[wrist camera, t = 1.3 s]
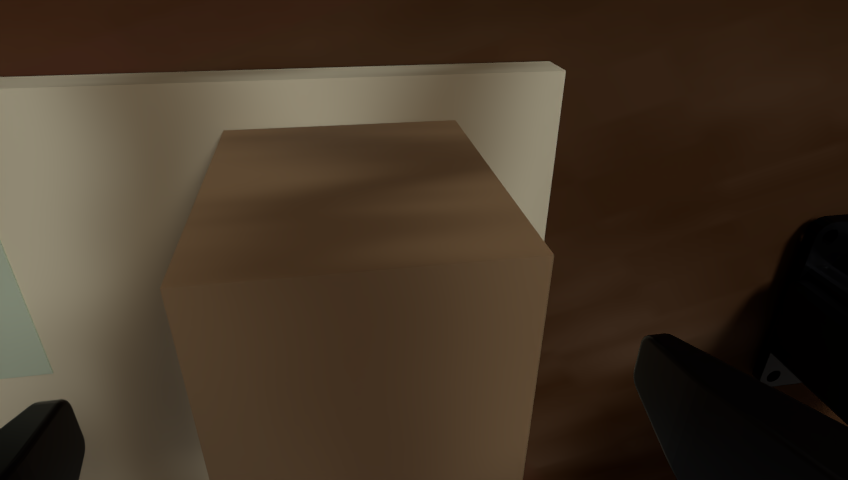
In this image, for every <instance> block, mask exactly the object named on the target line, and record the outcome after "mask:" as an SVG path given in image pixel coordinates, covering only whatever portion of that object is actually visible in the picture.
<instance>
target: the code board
mask: <svg viewBox="0 0 848 480" xmlns="http://www.w3.org/2000/svg"><path fill="white" fill-rule="evenodd" d="M565 73H566V71H565V70H564V69H562V68H560V67H558V66H557V65H555V64H553V63H552V62H550V61H543V62H508V63H473V64H439V65H404V66H369V67H335V68H300V69H265V70H231V71H196V72H161V73H126V74H92V75H57V76H22V77H0V428H2V427H3V426H4V425H6V424H7V423H8V422H9V421H11V420H12V419H13V418H15V417H16V416H17V415H18V414H20V413H21V412H22V411H23V410H25V409H26V408H27V407H29V406H30V405H32V404H33V403H35V402H39V401H48V400H57V399H64V400H67V401H68V402H69V403H70V404H71V406H72V408H73V411H74V413H75V416H76V418H77V421H78V423H79V426H80V428H81V431H82V434H83V436H84V440H85V455H84V459H83V464H82V468H81V473H80V477H79V480H209V476H208V473H207V469H206V465H205V461H204V457H203V453H202V449H201V445H200V442H199V438H198V434H197V430H196V426H195V422H194V418H193V415H192V411H191V407H190V403H189V399H188V395H187V391H186V388H185V384H184V380H183V376H182V372H181V368H180V364H179V360H178V357H177V353H176V349H175V345H174V341H173V337H172V333H171V330H170V326H169V322H168V318H167V314H166V310H165V306H164V303H163V299H162V295H161V291H160V287H161V284H162V282H163V279H164V277H165V274H166V272H167V269H168V267H169V265H170V262H171V260H172V257H173V255H174V252H175V250H176V247H177V245H178V242H179V240H180V237H181V235H182V232H183V230H184V227H185V225H186V222H187V220H188V217H189V215H190V212H191V210H192V207H193V205H194V202H195V200H196V197H197V195H198V192H199V190H200V187H201V185H202V182H203V180H204V177H205V175H206V172H207V170H208V168H209V165H210V163H211V160H212V158H213V155H214V153H215V150H216V148H217V145H218V143H219V140H220V138H221V135H222V133H223V130H244V129H267V128H289V127H312V126H334V125H356V124H379V123H401V122H424V121H446V120H456V122H457V123H458V124H459V126H460V127H461V129H462V130H463V131H464V133H465V134H466V135H467V137H468V138H469V139H470V141H471V142H472V144H473V145H474V146H475V148H476V149H477V150H478V152H479V153H480V154H481V156H482V157H483V159H484V160H485V161H486V163H487V164H488V165H489V167H490V168H491V170H492V171H493V172H494V174H495V175H496V176H497V178H498V179H499V180H500V182H501V183H502V185H503V186H504V187H505V189H506V190H507V191H508V193H509V194H510V196H511V197H512V198H513V200H514V201H515V202H516V204H517V205H518V206H519V208H520V209H521V211H522V212H523V213H524V215H525V216H526V217H527V219H528V220H529V221H530V223H531V224H532V226H533V227H534V228H535V230H536V231H537V232H538V234H539V235H540V237H541V238H542V239H543V241H544V237H545V229H546V221H547V214H548V206H549V198H550V190H551V182H552V175H553V167H554V159H555V151H556V143H557V136H558V128H559V120H560V112H561V105H562V97H563V89H564V81H565Z"/></svg>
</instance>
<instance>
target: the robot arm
mask: <svg viewBox="0 0 848 480" xmlns="http://www.w3.org/2000/svg"><path fill="white" fill-rule="evenodd" d="M752 374H753V376H754V378H753V377H751V376H749V375H748V374H746V373H744V372H742V371H740V370H738V369H736V368H734V367H732V366H730V365H728V364H726V363H725V362H723V361H721V360H719V359H717V358H715V357H713V356H711V355H709V354H707V353H705V352H703V351H702V350H700V349H698V348H696V347H694V346H692V345H690V344H688V343H686V342H684V341H682V340H681V339H679V338H677V337H675V336H673V335H671V334H665V333H664V334H655V335H648V336H645V337H644V338H643V340H642V341H641V345H640V349H639V353H638V357H637V361H636V365H635V369H634V383H635V386H636V389H637V391H638V393H639V396H640V398H641V400H642V403H643V405H644V407H645V410H646V412H647V414H648V417H649V419H650V421H651V424H652V426H653V428H654V431H655V433H656V435H657V438H658V440H659V442H660V445H661V447H662V449H663V451H664V454H665V456H666V458H667V460H668V462H669V465H670V467H671V469H672V471H673V472H674V474H675V476H676V478H677V480H848V427H847V426H845V425H843V424H841V423H839V422H838V421H836V420H834V419H832V418H830V417H828V416H826V415H824V414H822V413H820V412H818V411H816V410H815V409H813V408H811V407H809V406H807V405H805V404H803V403H801V402H799V401H797V400H795V399H793V398H792V397H790V396H788V395H786V394H784V393H782V392H780V391H778V390H776V389H774V388H772V387H773V386H781V385H788V384H796V383H803V384H804V385H805V386H806V387H808V388H809V389H810V390H811V391H812V392H813V393H814V394H815V395H816V396H817V397H818V398H819V399H820V400H821V401H822V402H824V403H825V404H826V405H827V406H828V407H829V408H830V409H831V410H832V411H833V412H834V413H835V414H836V415H837V416H838V417H840V418H841V419H842V420H843V421H844V422H845V423H846V424H847V425H848V214H846V215H834V216H824V217H820V218H818V219H817V220H815V221H814V222H813V223H812V224H811V225H810V226H809V227H808V229H807V230H806V232H805V235H804V237H803V240H802V243H801V245H800V248H799V250H798V253H797V256H796V258H795V261H794V264H793V266H792V269H791V271H790V274H789V277H788V279H787V282H786V285H785V287H784V290H783V292H782V295H781V298H780V300H779V303H778V306H777V308H776V311H775V313H774V316H773V319H772V321H771V324H770V327H769V329H768V332H767V335H766V337H765V340H764V342H763V345H762V348H761V350H760V353H759V356H758V358H757V361H756V363H755V366H754V369H753V373H752ZM84 455H85V440H84V436H83V434H82V431H81V428H80V426H79V423H78V421H77V418H76V416H75V413H74V411H73V408H72V406H71V404H70V403H69V402H68V401H67V400H64V399H57V400H48V401H39V402H35V403H33V404H32V405H30V406H29V407H27V408H26V409H25V410H23V411H22V412H21V413H20V414H18V415H17V416H16V417H15V418H13V419H12V420H11V421H9V422H8V423H7V424H6V425H4V426H3V427H2V428H0V480H79V477H80V473H81V468H82V464H83V459H84Z"/></svg>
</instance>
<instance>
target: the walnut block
mask: <svg viewBox="0 0 848 480" xmlns="http://www.w3.org/2000/svg"><path fill="white" fill-rule="evenodd" d="M553 259H554V254H553V253H552V252H551V250H550V249H549V247H548V246H547V245H546V243H545V242H544V241H543V239H542V238H541V237H540V235H539V234H538V232H537V231H536V230H535V228H534V227H533V226H532V224H531V223H530V221H529V220H528V219H527V217H526V216H525V215H524V213H523V212H522V211H521V209H520V208H519V206H518V205H517V204H516V202H515V201H514V200H513V198H512V197H511V196H510V194H509V193H508V191H507V190H506V189H505V187H504V186H503V185H502V183H501V182H500V180H499V179H498V178H497V176H496V175H495V174H494V172H493V171H492V170H491V168H490V167H489V165H488V164H487V163H486V161H485V160H484V159H483V157H482V156H481V154H480V153H479V152H478V150H477V149H476V148H475V146H474V145H473V144H472V142H471V141H470V139H469V138H468V137H467V135H466V134H465V133H464V131H463V130H462V129H461V127H460V126H459V124H458V123H457V122H456V120H446V121H424V122H401V123H379V124H356V125H334V126H312V127H289V128H267V129H244V130H223V133H222V135H221V138H220V140H219V143H218V145H217V148H216V150H215V153H214V155H213V158H212V160H211V163H210V165H209V168H208V170H207V172H206V175H205V177H204V180H203V182H202V185H201V187H200V190H199V192H198V195H197V197H196V200H195V202H194V205H193V207H192V210H191V212H190V215H189V217H188V220H187V222H186V225H185V227H184V230H183V232H182V235H181V237H180V240H179V242H178V245H177V247H176V250H175V252H174V255H173V257H172V260H171V262H170V265H169V267H168V269H167V272H166V274H165V277H164V279H163V282H162V284H161V287H160V291H161V295H162V299H163V303H164V306H165V310H166V314H167V318H168V322H169V326H170V330H171V333H172V337H173V341H174V345H175V349H176V353H177V357H178V360H179V364H180V368H181V372H182V376H183V380H184V384H185V388H186V391H187V395H188V399H189V403H190V407H191V411H192V415H193V418H194V422H195V426H196V430H197V434H198V438H199V442H200V445H201V449H202V453H203V457H204V461H205V465H206V469H207V473H208V476H209V480H523V473H524V466H525V459H526V452H527V445H528V438H529V431H530V423H531V416H532V409H533V402H534V395H535V388H536V381H537V373H538V366H539V359H540V352H541V345H542V338H543V331H544V324H545V316H546V309H547V302H548V295H549V288H550V281H551V274H552V267H553Z"/></svg>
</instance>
